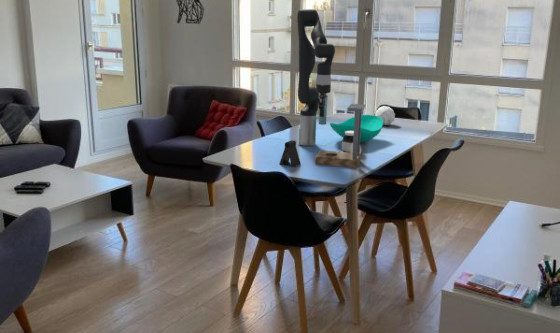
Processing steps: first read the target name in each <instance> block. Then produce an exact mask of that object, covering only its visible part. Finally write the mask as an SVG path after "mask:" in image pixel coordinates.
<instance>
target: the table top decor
mask: <svg viewBox="0 0 560 333" xmlns="http://www.w3.org/2000/svg"><path fill="white" fill-rule="evenodd" d="M354 118H355V116H353V117H350V118H348V119H346V120H345V121H343V122H340V123H333V122H329V125H330V127H331V129H332V130H333V131H334V132H335V133H336V134H337V135H338V136H340V137H341V138H343V137H344V136H345V132H346V131H354ZM383 126H384V125H383V120H382V118H381V117H379V116H375V114H362V116H361V135H360V143H364V142H367V141H370V140H372V139H374V138H375V137H376V136H378V135H379V134H380V133H381V131H382V128H383Z"/></svg>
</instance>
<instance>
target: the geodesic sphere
mask: <svg viewBox="0 0 560 333" xmlns="http://www.w3.org/2000/svg"><path fill="white" fill-rule="evenodd" d="M374 116H379V117H381V118H382V120H383V126H384V125H387V126H389V125H391V124H392V123H393V122H394V121H395V116H396V113H395V112H394V109H393V108H391V107H390V106H387V105H382V106H380V107H378V109H377V110H376V111H375V113H374Z"/></svg>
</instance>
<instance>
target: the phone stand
mask: <svg viewBox="0 0 560 333" xmlns="http://www.w3.org/2000/svg"><path fill="white" fill-rule="evenodd" d="M298 153H299V152H298V148H297V141H296V140H293V139H292V140H288V141H286V142H284V149H283V152H282V154H281V158H280V161H279V165H280V166H286V167H292V168H296V167H299V166H300V165H301V163H302V162H301V159H300V156H299V154H298Z"/></svg>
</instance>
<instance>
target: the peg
mask: <svg viewBox="0 0 560 333" xmlns="http://www.w3.org/2000/svg"><path fill="white" fill-rule="evenodd" d="M321 107H322V105H321ZM327 108H328V100H327V101H326V105H325V106H324V117H320V110H319V109H318V125H321V126H323V125H324V126H325V125H327V115H328V114H327V110H328V109H327Z"/></svg>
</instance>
